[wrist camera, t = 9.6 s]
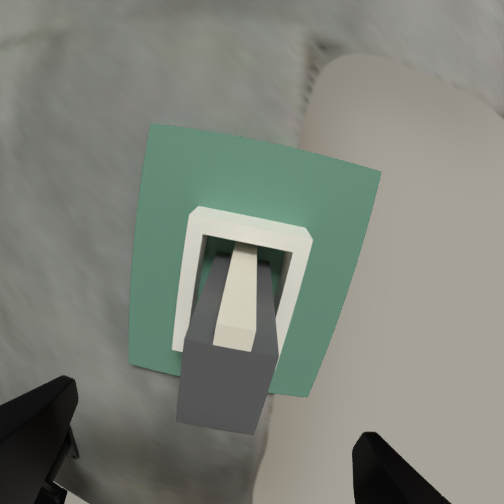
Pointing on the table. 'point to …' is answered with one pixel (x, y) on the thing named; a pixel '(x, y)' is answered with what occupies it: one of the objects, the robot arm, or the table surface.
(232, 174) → the board
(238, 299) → the plug
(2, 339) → the table surface
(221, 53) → the table surface
